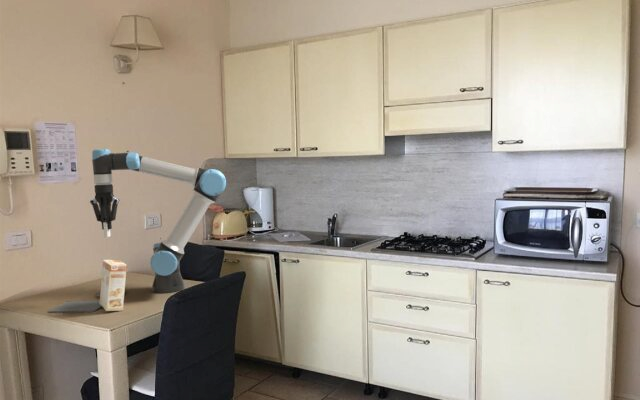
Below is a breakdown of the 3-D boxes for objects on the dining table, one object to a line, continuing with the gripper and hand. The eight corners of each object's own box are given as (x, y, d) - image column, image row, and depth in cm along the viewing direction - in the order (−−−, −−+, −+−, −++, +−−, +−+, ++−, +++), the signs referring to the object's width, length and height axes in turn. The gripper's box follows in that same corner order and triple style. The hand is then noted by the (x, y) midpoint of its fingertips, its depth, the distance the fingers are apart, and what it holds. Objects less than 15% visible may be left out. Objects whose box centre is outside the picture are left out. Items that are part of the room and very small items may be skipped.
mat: (110, 301, 232) (110, 300, 232) (94, 311, 217) (93, 310, 217) (67, 302, 233) (67, 301, 233) (48, 312, 219) (48, 311, 218)
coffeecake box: (123, 310, 218) (127, 264, 218) (105, 311, 214) (109, 264, 214) (115, 303, 230) (119, 259, 230) (98, 303, 226) (102, 259, 226)
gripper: (121, 183, 232) (125, 235, 234) (94, 184, 234) (98, 235, 236) (112, 184, 225) (116, 237, 227) (84, 185, 226) (89, 238, 228)
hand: (107, 236), depth 231 cm, fingers closed
